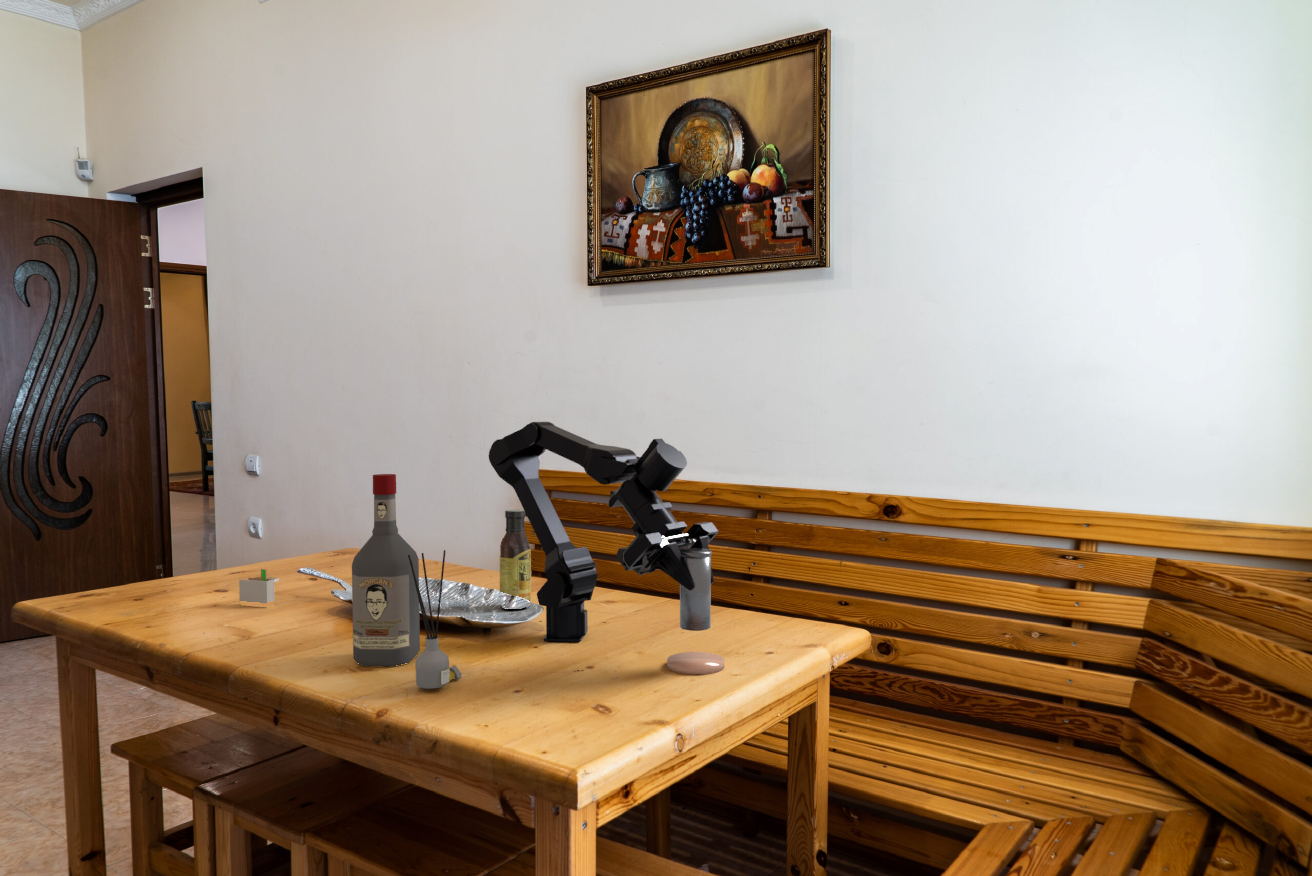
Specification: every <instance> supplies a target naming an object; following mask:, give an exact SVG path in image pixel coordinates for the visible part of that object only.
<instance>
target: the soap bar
mask: <svg viewBox="0 0 1312 876" xmlns="http://www.w3.org/2000/svg"><path fill="white" fill-rule="evenodd" d="M666 667H667V669H669V670H670V671H672V672H675V673H678V674H684V675H693V676H694V675H696V674H700V675H710V674H714V673H718V672H721V671H722V670H724V668H725V658H724V657H723V656H721V655H720V654H716V653H712V652H706V651H705V652H703V651H685V652H684V651H683V652H678V653H674V654H672V655H669V656H668V657H667V658H666Z"/></svg>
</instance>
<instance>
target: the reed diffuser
mask: <svg viewBox="0 0 1312 876" xmlns="http://www.w3.org/2000/svg"><path fill="white" fill-rule="evenodd" d="M446 553H447V552H446V550H445V549H444V550H443V555H442V563H441V575H440V584H439V585H440V586H439V596H438V606H437V612H436V613H437V615H436V625H435V626H434V620H433V613H432V606H431V600H430V590H429V584H428V578H427V577H428V576H427V570H426V564H425V563H426V562H425V557H424V555H425V554H424V552H421V560H422V568H423V572H424V573H423V574H424V579H425V581H424V582H425V589H426V595H427V596H426V597H427V601H428V603H427V604H428V608H429V609H428V610H429V616H430V617H429V618H430V622H431V623H430V622H429V620H428V615H427V613H426V609H425V605H424V601H423V598H422V594H421V590H420V586H419V587H418V583H417V579H416V576H415V572H414V569H413V564H412V560H411V558H410V555H408V558H409V561H410V565H411V569H412V573H413V577H414V582H415V586H416V590H417V595H418V599H419V609H420V612H421V616H422V620H423V624H424V629H425V632H426V637H425V638H424V639H425V642H424V643H425V644H424V646H425V647H424V648H425V650H423V651H422V652H421V653H420V654H419V655H417V656H416V659H415V663H414V664H415V682H416V686H417V687H418V688H419V689H438V688H442V687H445V686H447V685H448V684H449V682H452V680H454V679H455V680H456V681H457V680H459V679H461V678H462V677H463V676H462V672H461V670H460V669H459V668H458V666H456V665H455V664H453V665H451V666H450V659H449V655H448V654H446V653H445V652H444V651H442V650H441V649H440V648H439V646H440V642H439V636H438V631H439V620H440V610H441V602H442V601H441V599H442V590H443V589H442V588H443V583H444V581H443V579H444V571H445V569H444V568H445V561H446V560H445V559H446ZM430 624H431V627H430Z"/></svg>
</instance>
